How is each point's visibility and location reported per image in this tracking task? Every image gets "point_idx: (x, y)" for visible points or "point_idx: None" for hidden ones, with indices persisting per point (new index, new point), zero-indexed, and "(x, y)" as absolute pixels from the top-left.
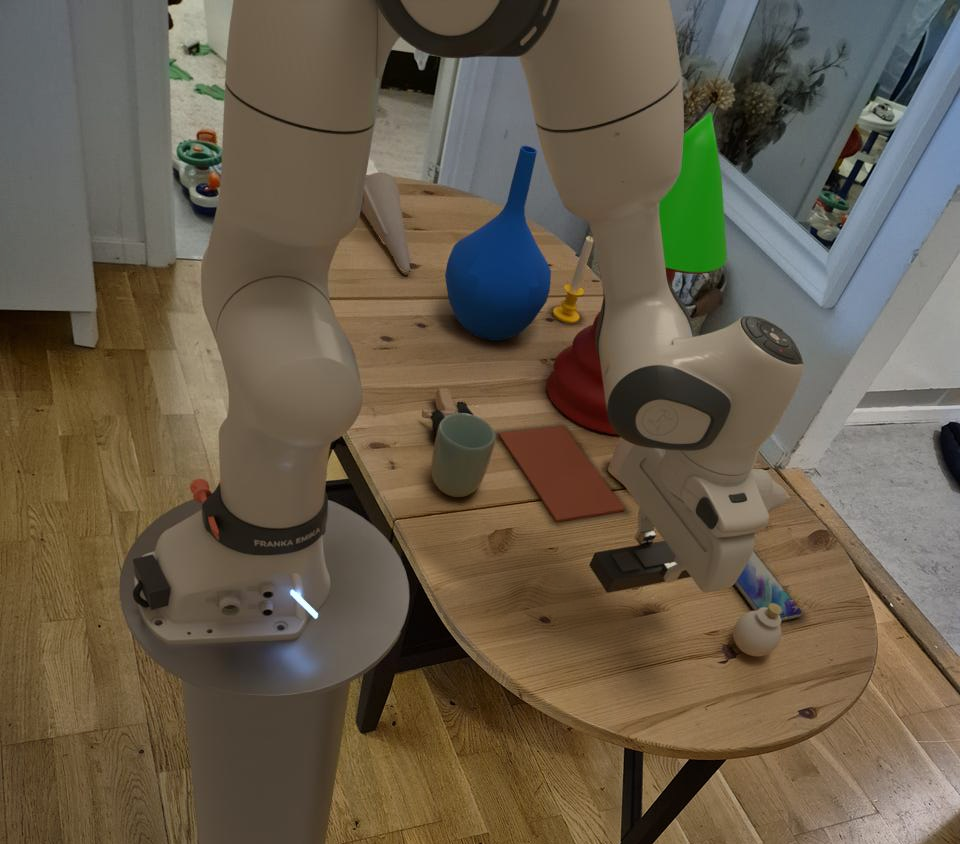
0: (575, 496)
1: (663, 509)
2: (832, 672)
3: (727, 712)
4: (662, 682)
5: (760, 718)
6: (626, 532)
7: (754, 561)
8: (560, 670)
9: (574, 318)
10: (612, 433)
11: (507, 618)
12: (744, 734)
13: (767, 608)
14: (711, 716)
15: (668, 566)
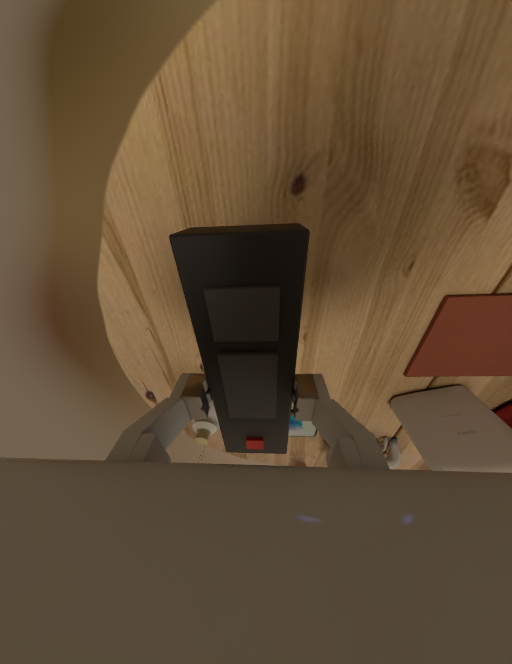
0: (461, 338)
1: (264, 649)
2: (188, 424)
3: (145, 344)
4: (178, 303)
5: (141, 365)
6: (377, 363)
7: (293, 432)
8: (200, 162)
9: None
10: (499, 410)
11: (325, 96)
12: (121, 346)
13: (212, 432)
14: (138, 329)
15: (189, 402)
